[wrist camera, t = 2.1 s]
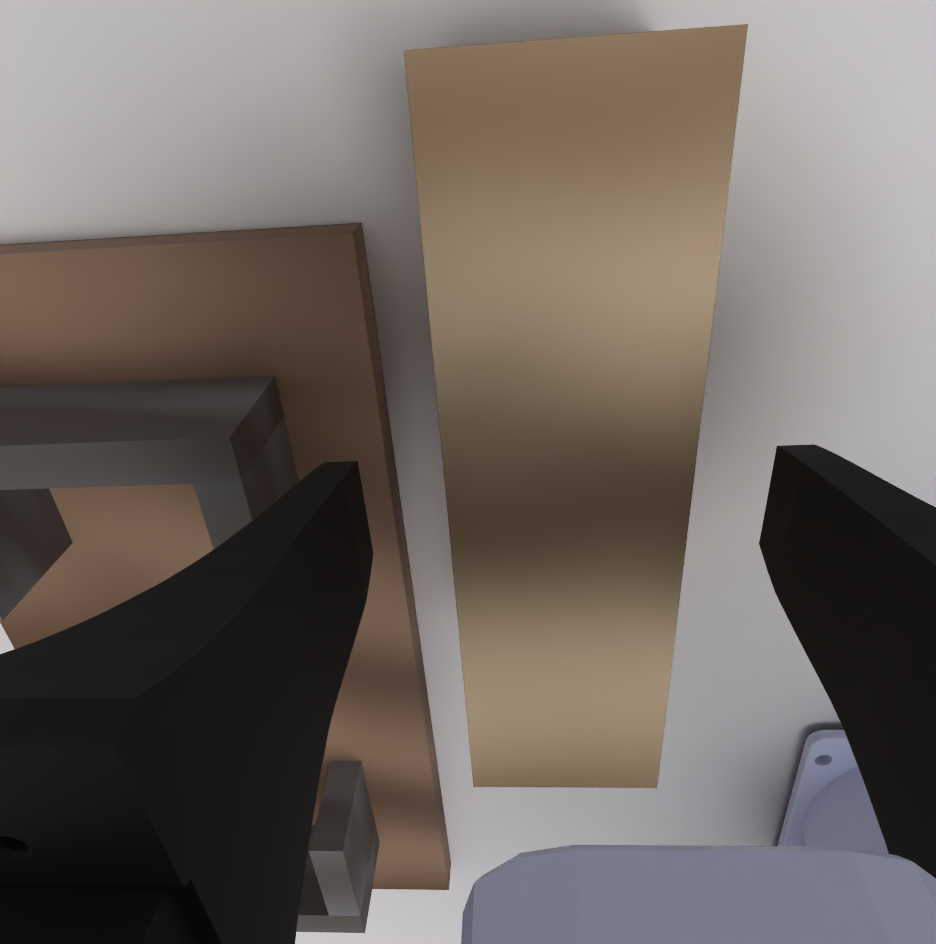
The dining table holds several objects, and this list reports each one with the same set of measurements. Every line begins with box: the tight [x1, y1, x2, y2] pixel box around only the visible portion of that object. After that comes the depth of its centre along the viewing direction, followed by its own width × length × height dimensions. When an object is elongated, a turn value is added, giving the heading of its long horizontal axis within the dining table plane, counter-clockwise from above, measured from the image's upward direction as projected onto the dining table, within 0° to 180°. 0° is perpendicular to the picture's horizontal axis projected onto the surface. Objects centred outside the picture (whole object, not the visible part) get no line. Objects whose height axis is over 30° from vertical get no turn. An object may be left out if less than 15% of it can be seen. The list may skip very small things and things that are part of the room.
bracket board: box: [0, 223, 451, 933], centre depth 20 cm, size 24×12×4 cm, turn 4°
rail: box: [404, 24, 748, 788], centre depth 14 cm, size 14×4×6 cm, turn 4°
